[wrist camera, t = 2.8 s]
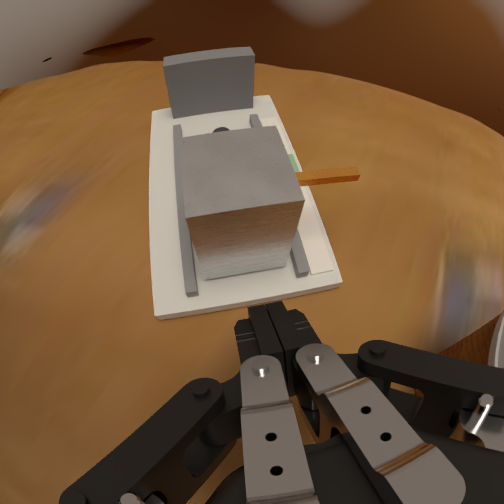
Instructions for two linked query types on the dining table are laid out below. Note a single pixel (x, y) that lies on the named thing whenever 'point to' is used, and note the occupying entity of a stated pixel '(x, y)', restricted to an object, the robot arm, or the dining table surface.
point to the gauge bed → (172, 202)
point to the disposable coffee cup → (480, 346)
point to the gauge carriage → (244, 198)
